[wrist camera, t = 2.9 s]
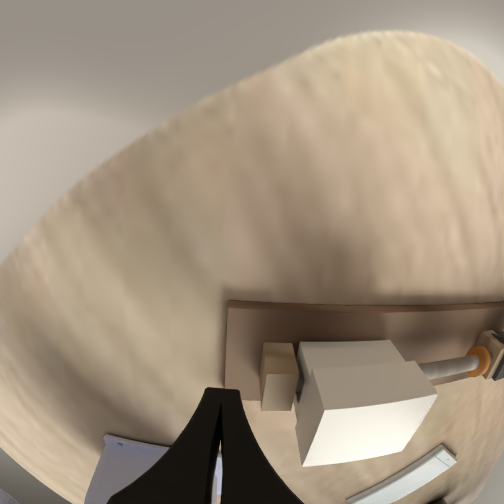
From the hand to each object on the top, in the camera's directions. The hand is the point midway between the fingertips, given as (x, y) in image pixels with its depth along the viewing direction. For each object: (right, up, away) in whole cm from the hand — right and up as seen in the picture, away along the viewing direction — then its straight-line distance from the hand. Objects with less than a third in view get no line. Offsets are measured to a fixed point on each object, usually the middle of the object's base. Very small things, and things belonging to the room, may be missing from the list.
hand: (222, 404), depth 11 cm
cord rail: (+10, +1, +4) cm, 11 cm away
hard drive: (+19, -20, +12) cm, 30 cm away
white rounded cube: (+6, 0, +3) cm, 7 cm away
